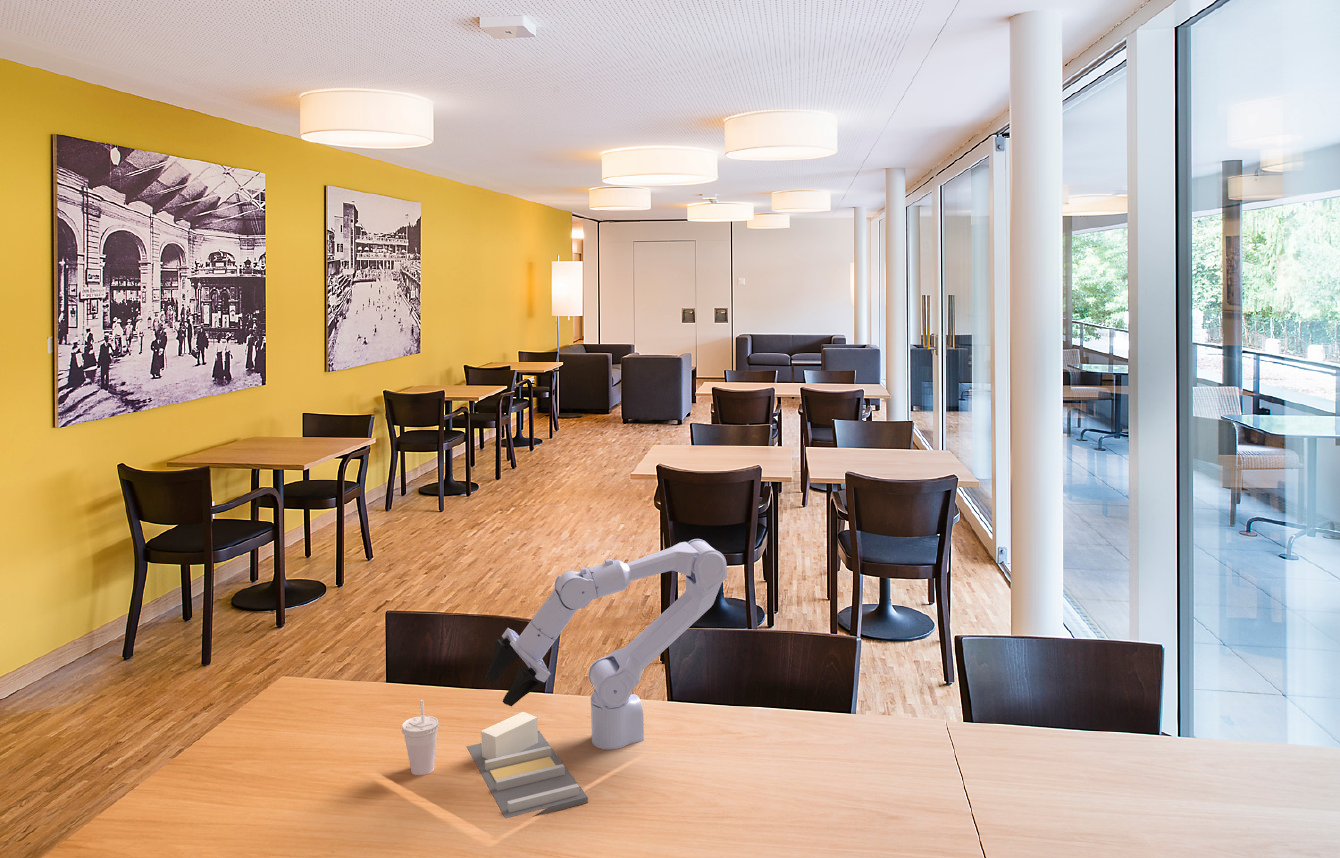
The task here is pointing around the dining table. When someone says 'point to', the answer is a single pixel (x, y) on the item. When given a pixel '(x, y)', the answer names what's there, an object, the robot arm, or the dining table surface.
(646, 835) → the dining table surface
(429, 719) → the smoothie
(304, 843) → the dining table surface
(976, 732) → the dining table surface
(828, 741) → the dining table surface
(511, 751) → the frame block
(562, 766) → the grey ridged board
